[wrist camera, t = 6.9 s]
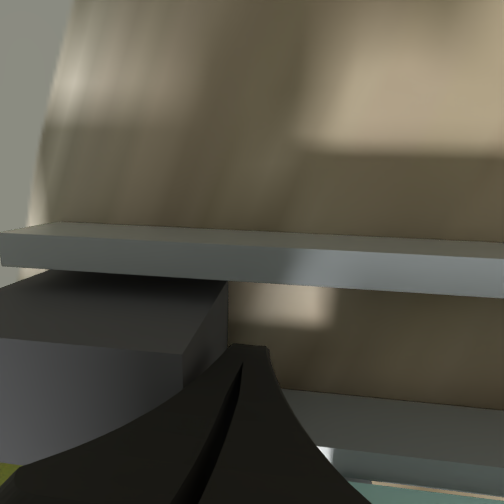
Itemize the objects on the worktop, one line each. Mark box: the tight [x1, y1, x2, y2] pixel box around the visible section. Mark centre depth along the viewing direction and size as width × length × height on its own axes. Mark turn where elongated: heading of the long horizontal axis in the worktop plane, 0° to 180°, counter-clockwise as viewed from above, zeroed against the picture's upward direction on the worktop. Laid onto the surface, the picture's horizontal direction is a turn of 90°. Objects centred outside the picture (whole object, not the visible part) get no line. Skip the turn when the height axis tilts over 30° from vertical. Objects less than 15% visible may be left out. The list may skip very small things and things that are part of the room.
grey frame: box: [0, 222, 504, 497], centre depth 11 cm, size 11×24×6 cm, turn 89°
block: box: [0, 269, 228, 466], centre depth 11 cm, size 4×8×6 cm, turn 88°
